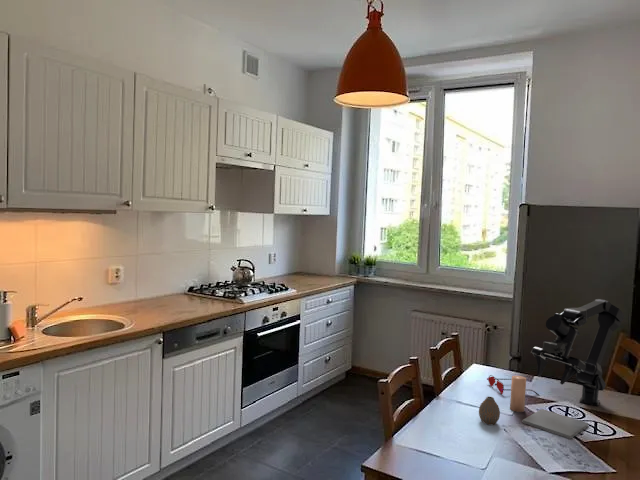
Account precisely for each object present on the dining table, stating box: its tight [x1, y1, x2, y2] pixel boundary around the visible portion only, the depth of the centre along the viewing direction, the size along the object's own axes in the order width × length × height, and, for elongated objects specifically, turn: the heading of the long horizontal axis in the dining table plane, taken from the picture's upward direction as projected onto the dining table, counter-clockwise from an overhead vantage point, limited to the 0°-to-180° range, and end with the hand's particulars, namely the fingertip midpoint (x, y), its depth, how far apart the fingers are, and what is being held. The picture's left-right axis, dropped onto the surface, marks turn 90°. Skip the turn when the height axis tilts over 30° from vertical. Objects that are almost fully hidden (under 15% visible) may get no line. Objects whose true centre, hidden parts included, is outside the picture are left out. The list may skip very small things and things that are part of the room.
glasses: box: [486, 374, 540, 396], centre depth 212 cm, size 14×16×5 cm
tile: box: [521, 408, 589, 440], centre depth 177 cm, size 16×16×1 cm
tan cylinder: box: [509, 375, 527, 413], centre depth 189 cm, size 5×5×12 cm
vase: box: [478, 396, 501, 426], centre depth 177 cm, size 7×7×9 cm
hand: (549, 380), depth 186 cm, fingers open, 9 cm apart
